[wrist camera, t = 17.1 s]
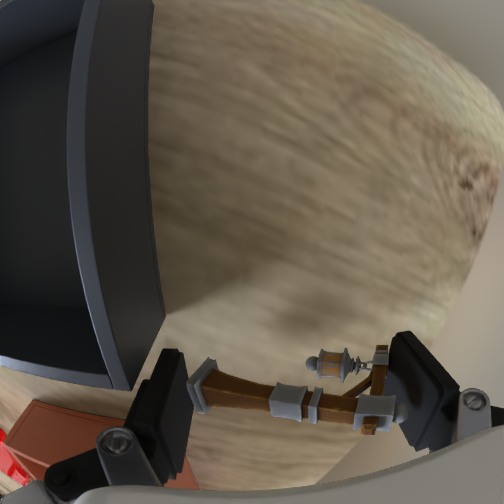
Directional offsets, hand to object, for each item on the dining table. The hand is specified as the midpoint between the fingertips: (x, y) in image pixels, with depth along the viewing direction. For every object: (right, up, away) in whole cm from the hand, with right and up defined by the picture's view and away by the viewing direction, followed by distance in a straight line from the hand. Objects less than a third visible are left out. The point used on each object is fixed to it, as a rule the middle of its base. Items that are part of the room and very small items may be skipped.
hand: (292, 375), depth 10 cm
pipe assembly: (0, 0, +1) cm, 1 cm away
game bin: (-12, +8, 0) cm, 15 cm away
